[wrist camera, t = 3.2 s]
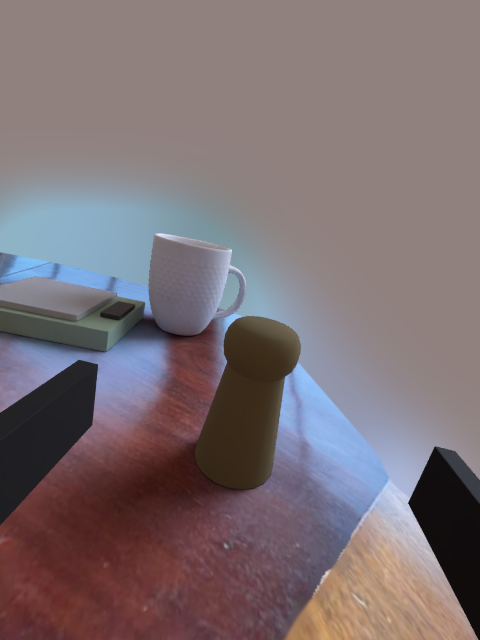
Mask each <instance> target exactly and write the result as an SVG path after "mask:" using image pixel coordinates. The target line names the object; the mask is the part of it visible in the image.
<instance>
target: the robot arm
mask: <svg viewBox="0 0 480 640" xmlns="http://www.w3.org/2000/svg"><path fill="white" fill-rule="evenodd" d="M97 370H98V364H94V363H90V362H86V361H81V360H78V361H77V362H75V363H74V364H72V365H71V366H69V367H68V368H66V369H65V370H63V371H62V372H60V373H59V374H57V375H56V376H54V377H53V378H51V379H50V380H48V381H47V382H45V383H44V384H42V385H41V386H39V387H38V388H37V389H35V390H34V391H32V392H31V393H29V394H28V395H26V396H25V397H23V398H22V399H20V400H19V401H17V402H16V403H14V404H13V405H11V406H10V407H8V408H7V409H5V410H4V411H2V412H1V413H0V525H1V524H2V523H3V522H4V521H5V520H6V518H7V517H8V516H9V515H10V514H11V513H12V512H13V511H14V510H15V509H16V508H17V506H18V505H19V504H20V503H21V502H22V501H23V500H24V499H25V498H26V497H27V495H28V494H29V493H30V492H31V491H32V490H33V489H34V488H35V487H36V486H37V485H38V483H39V482H40V481H41V480H42V479H43V478H44V477H45V476H46V475H47V474H48V473H49V471H50V470H51V469H52V468H53V467H54V466H55V465H56V464H57V463H58V462H59V461H60V459H61V458H62V457H63V456H64V455H65V454H66V453H67V452H68V451H69V450H70V449H71V447H72V446H73V445H74V444H75V443H76V442H77V441H78V440H79V439H80V438H81V437H82V435H83V434H84V433H85V432H86V431H87V430H88V429H89V428H90V427H91V426H92V422H93V411H94V401H95V391H96V381H97ZM408 504H409V506H410V508H411V510H412V512H413V514H414V516H415V517H416V519H417V521H418V523H419V525H420V527H421V529H422V531H423V533H424V535H425V537H426V539H427V541H428V543H429V545H430V547H431V549H432V550H433V552H434V554H435V556H436V558H437V560H438V562H439V564H440V566H441V568H442V570H443V572H444V574H445V576H446V578H447V580H448V582H449V584H450V585H451V587H452V589H453V591H454V593H455V595H456V597H457V599H458V601H459V603H460V605H461V607H462V609H463V611H464V613H465V615H466V617H467V619H468V620H469V622H470V624H471V626H472V628H473V630H474V632H475V634H476V636H477V638H478V640H480V480H479V479H478V478H477V476H476V475H475V474H474V473H473V472H472V471H471V469H470V468H469V467H468V466H467V465H466V463H465V462H464V461H463V460H462V459H461V458H460V456H459V455H458V454H457V453H456V452H455V451H452V450H448V449H444V448H440V447H434V450H433V452H432V454H431V456H430V458H429V460H428V462H427V465H426V466H425V468H424V471H423V473H422V475H421V477H420V479H419V481H418V483H417V485H416V487H415V490H414V492H413V494H412V496H411V498H410V500H409V502H408Z"/></svg>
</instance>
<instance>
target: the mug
mask: <svg viewBox="0 0 480 640" xmlns="http://www.w3.org/2000/svg"><path fill="white" fill-rule="evenodd" d="M231 253H232V250H231V249H229V248H227V247H223V246H220V245H216V244H212V243H209V242H204V241H199V240H195V239H191V238H185V237H180V236H174V235H167V234H155V236H154V242H153V249H152V255H151V261H150V263H151V264H150V270H149V272H150V273H149V300H150V305H151V310H152V314H153V316H154V319H155V321H156V323H157V325H158V326H159V327H160V328H161V329H162V330H164V331H166V332H168V333H172V334H176V335H184V336H192V335H197V334H199V333H201V332H202V331H203V330H204V329H205V328H206V327H207V325H208V324H209V323H210V321H211V319H217V318H223V317H227V316H229V315H231V314H233V313H234V312H235V311H237V310H238V309H239V307H240V306H241V304H242V303H243V300H244V298H245V294H246V281H245V278H244V276H243V274H242V273H241V272H240V271H239V270H238V269H237V268H235V267H233V266H230V265H229V264H230V259H231ZM228 273H233V274H235V275H236V276H237V277H238V279H239V283H240V288H239V294H238V297H237V299H236V301H235V302H234V304H233V305H232V306H231V307H229V308H228V309H226V310H224V311H221V312H216V311H217V308H218V306H219V303H220V300H221V298H222V294H223V291H224V287H225V284H226V281H227V275H228Z"/></svg>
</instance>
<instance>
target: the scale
mask: <svg viewBox="0 0 480 640" xmlns="http://www.w3.org/2000/svg"><path fill="white" fill-rule="evenodd" d="M144 308H145V302H142V301H137V300H132V299H127V298H122V297H117V293H114V292H109V291H104V290H99V289H94V288H90V287H85V286H80V285H75V284H70V283H65V282H61V281H56V280H51V279H46V278H41V277H36V276H35V277H31V278H27V279H23V280H19V281H15V282H11V283H7V284H3V285H0V331H2V332H7V333H12V334H17V335H22V336H27V337H32V338H38V339H43V340H48V341H53V342H58V343H63V344H68V345H73V346H78V347H84V348H89V349H94V350H99V351H104V352H107V351H108V350H109V349H110V348H111V347H112V346H113V345H114V344H115V343H117V342H118V341H119V340H120V339H121V338H122V337H123V336H124V335H125V334H126V333H127V332H128V331H129V330H130V329H131V328H132V327H133V326H135V325H136V324H137V323H138V322H139V321H140V320H141V319H142V318H143V316H144Z"/></svg>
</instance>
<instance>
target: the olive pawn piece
mask: <svg viewBox="0 0 480 640" xmlns="http://www.w3.org/2000/svg"><path fill="white" fill-rule="evenodd" d="M300 350H301V344H300V340H299V337H298V335H297V333H296V332H295V331H294V330H293V329H291V328H290V327H289V326H286V325H285V324H283V323H280V322H278V321H275V320H272V319H268V318H263V317H255V316H246V317H241V318H238V319H236V320H235V321H234V322H233V323H232V324H231V325H230V326H229V327H228V330H227V332H226V334H225V339H224V355H225V357H226V360H227V364H226V367H225V370H224V372H223V375H222V378H221V380H220V383H219V386H218V389H217V391H216V394H215V397H214V399H213V402H212V405H211V407H210V410H209V413H208V415H207V418H206V421H205V423H204V426H203V429H202V431H201V434H200V437H199V439H198V442H197V445H196V449H195V459H196V463H197V465H198V467H199V468H200V469H201V471H202V472H203V474H204V475H206V476H207V477H208V478H210V479H211V480H212V481H214V482H215V483H218V484H220V485H223V486H225V487H227V488H234V489H241V490H242V489H250V488H255V487H257V486H259V485H261V484H263V483H265V482H266V480H267V479H268V478H269V477H270V475H271V472H272V468H273V461H274V454H275V446H276V439H277V431H278V424H279V417H280V409H281V402H282V395H283V387H284V380H285V376H287V375H288V374H289V373H291V372H292V371H293V369H294V368H295V366H296V365H297V362H298V359H299V355H300Z"/></svg>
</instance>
